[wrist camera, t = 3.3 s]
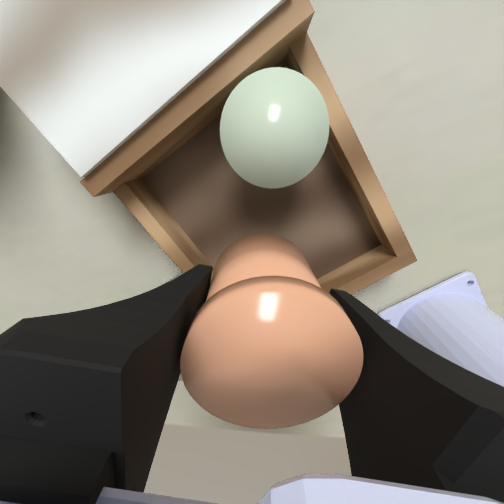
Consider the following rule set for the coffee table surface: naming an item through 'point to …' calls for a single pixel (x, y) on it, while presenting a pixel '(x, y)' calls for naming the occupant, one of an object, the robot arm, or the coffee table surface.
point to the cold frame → (194, 126)
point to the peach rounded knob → (269, 339)
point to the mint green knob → (274, 127)
